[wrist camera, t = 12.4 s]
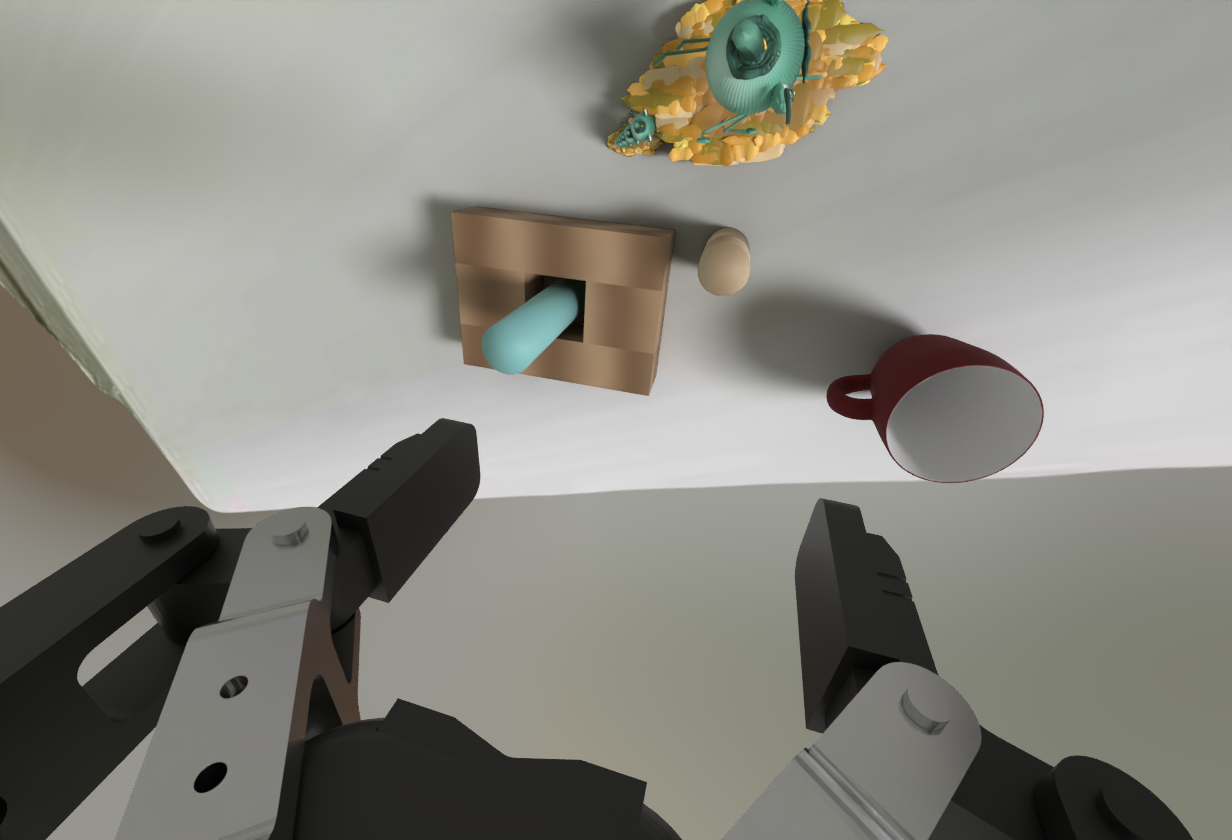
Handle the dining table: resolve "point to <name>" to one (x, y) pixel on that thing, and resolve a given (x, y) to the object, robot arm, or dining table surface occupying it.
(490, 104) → the dining table surface
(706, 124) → the teal creature figurine
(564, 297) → the long pin
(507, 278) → the hole block
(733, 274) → the short pin
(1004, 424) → the mug
